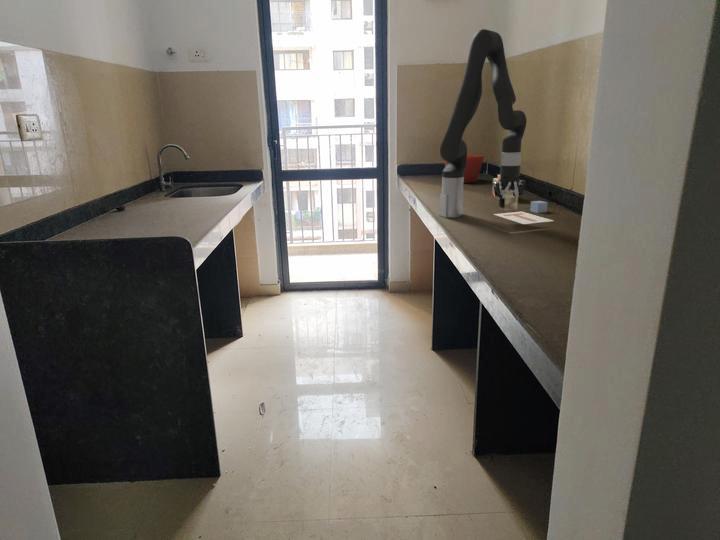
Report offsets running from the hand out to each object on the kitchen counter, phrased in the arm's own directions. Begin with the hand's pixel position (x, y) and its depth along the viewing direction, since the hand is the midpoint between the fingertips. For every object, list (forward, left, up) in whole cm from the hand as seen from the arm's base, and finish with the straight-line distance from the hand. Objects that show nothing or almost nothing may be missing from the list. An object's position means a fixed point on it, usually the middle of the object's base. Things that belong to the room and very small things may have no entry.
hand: (508, 206), depth 195 cm
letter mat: (+12, +6, -7) cm, 15 cm away
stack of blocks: (+34, +55, -7) cm, 65 cm away
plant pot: (+47, +120, -7) cm, 129 cm away
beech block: (0, 0, -1) cm, 1 cm away
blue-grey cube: (+26, +14, -7) cm, 30 cm away
